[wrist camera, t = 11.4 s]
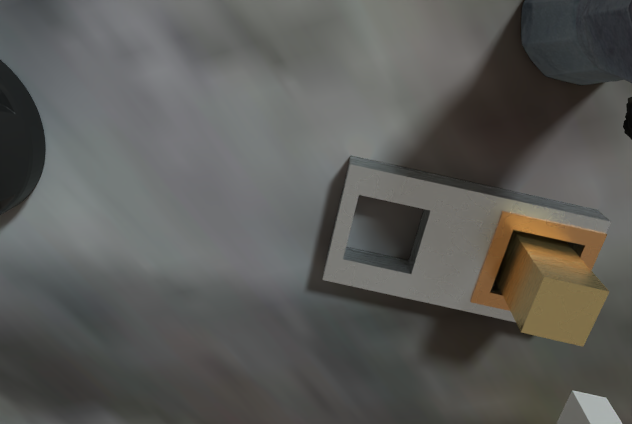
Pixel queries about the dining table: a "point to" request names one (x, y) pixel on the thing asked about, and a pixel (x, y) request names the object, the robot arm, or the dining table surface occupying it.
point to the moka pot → (580, 41)
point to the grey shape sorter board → (451, 236)
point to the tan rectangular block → (549, 288)
